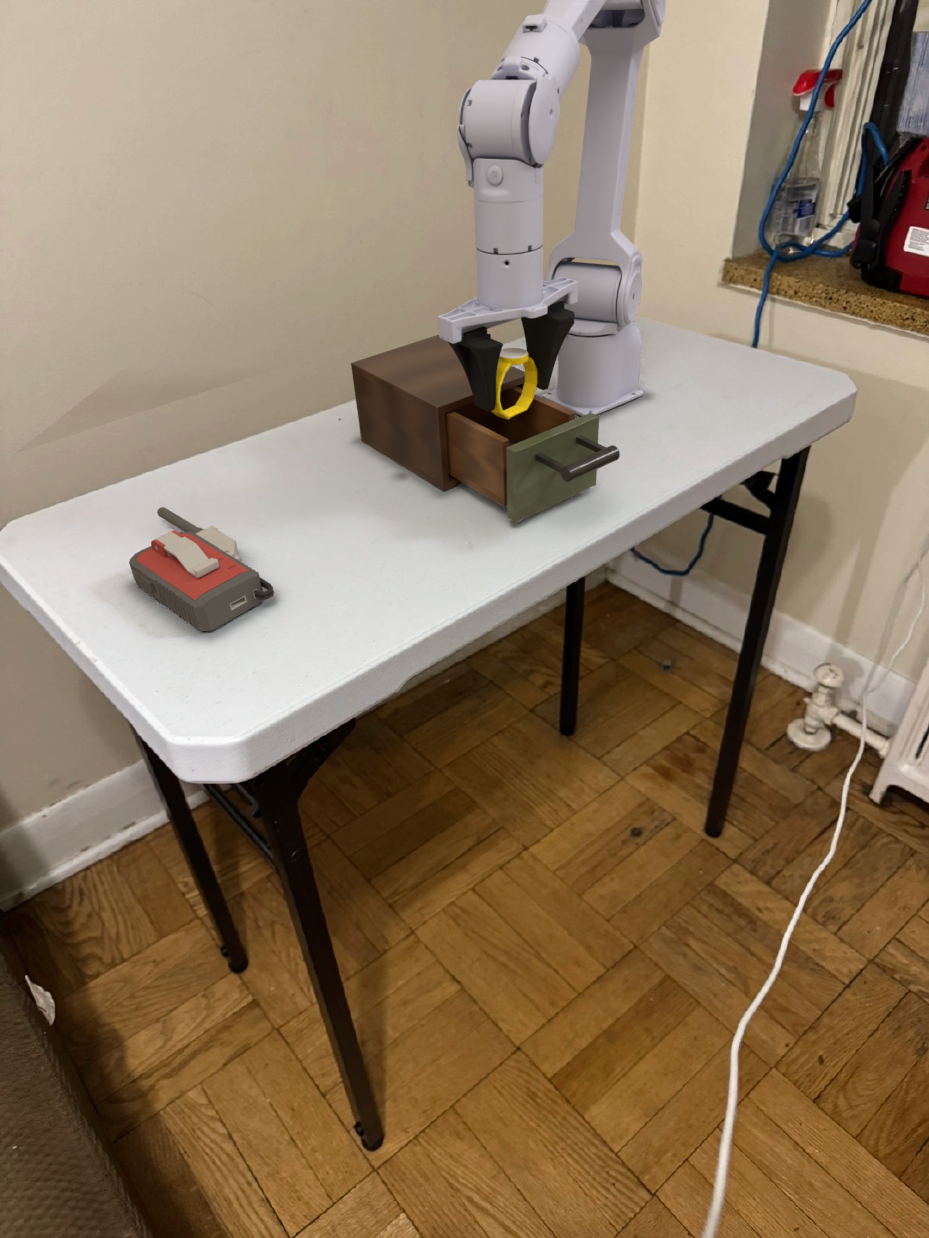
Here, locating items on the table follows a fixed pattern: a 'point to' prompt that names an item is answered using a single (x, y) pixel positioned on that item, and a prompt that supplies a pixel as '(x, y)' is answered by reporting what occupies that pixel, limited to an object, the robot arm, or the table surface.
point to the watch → (521, 357)
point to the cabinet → (415, 404)
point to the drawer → (525, 453)
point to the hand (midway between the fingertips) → (512, 397)
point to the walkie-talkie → (198, 574)
